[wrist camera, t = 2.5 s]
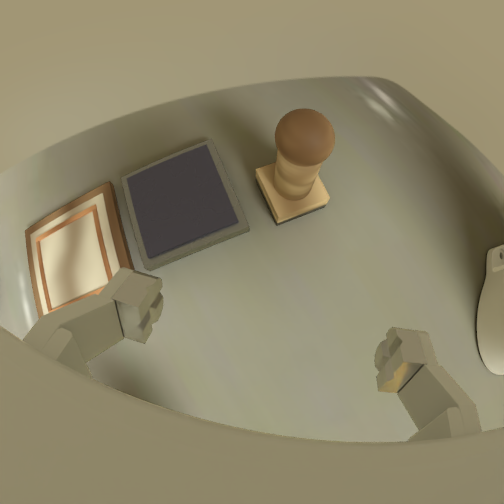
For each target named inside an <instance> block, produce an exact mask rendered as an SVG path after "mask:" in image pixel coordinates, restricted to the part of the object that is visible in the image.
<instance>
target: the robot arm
mask: <svg viewBox="0 0 504 504" xmlns="http://www.w3.org/2000/svg"><path fill="white" fill-rule="evenodd" d="M161 289H162V279H160V278H159V277H155V276H152V275H148V274H145V273H142V272H139V271H134V270H131V269H128V268H125V267H123V268H120V269H119V270H118V271H117V272H116V274H115V275H114V276H113V277H112V278H111V280H110V281H109V282H108V283H107V285H106V286H105V287H104V288H103V289H102V291H101V292H100V293H99V294H98V295H97V294H93V295H91V296H88V297H86V298H83V299H81V300H79V301H76V302H74V303H71V304H69V305H67V306H64V307H62V308H60V309H57V310H55V311H53V312H50V313H48V314H46V315H43V316H41V318H40V319H39V320H38V321H37V323H36V324H35V325H34V326H33V327H32V329H31V330H30V331H29V333H28V334H27V335H26V336H25V338H24V339H23V340H21V339H19V338H18V337H16V336H15V335H13V334H12V333H10V332H9V331H7V330H6V329H4V328H3V327H2V326H0V504H504V427H502V428H498V429H494V430H489V431H484V432H482V431H481V426H480V421H479V417H478V413H477V409H476V405H475V404H474V403H473V401H472V400H471V399H470V398H469V397H468V395H467V394H466V393H465V392H464V391H463V390H462V388H461V387H460V386H459V385H458V384H457V383H456V382H455V380H454V379H453V378H452V377H451V376H450V375H449V374H448V373H447V371H446V370H445V369H444V368H443V367H442V366H439V365H438V362H437V359H436V356H435V352H434V349H433V346H432V343H431V340H430V337H429V334H428V333H427V332H426V331H418V330H409V329H402V328H395V327H392V328H390V329H389V330H388V332H387V333H386V337H387V339H386V340H384V341H382V342H380V344H379V346H378V347H377V349H376V353H375V359H374V362H375V367H376V368H377V370H378V371H379V373H378V375H377V376H376V378H377V386H378V391H379V392H389V393H398V394H397V395H398V397H399V398H400V400H401V401H402V403H403V405H404V406H405V408H406V410H407V411H408V413H409V415H410V416H411V418H412V420H413V421H414V423H415V425H416V426H417V428H418V430H419V431H418V432H417V433H415V434H414V435H413V436H411V437H410V438H409V439H408V440H409V441H407V442H342V441H327V440H315V439H305V438H297V437H289V436H282V435H275V434H269V433H263V432H258V431H252V430H247V429H242V428H237V427H233V426H228V425H224V424H220V423H216V422H212V421H208V420H204V419H201V418H197V417H193V416H190V415H186V414H183V413H180V412H177V411H173V410H170V409H167V408H164V407H161V406H158V405H155V404H153V403H150V402H147V401H144V400H141V399H139V398H136V397H134V396H131V395H129V394H126V393H124V392H121V391H119V390H116V389H114V388H112V387H109V386H107V385H105V384H102V383H100V382H98V381H96V380H94V379H92V374H91V372H90V370H89V368H88V366H87V364H86V362H88V361H89V360H91V359H93V358H94V357H96V356H97V355H99V354H100V353H102V352H103V351H105V350H107V349H108V348H110V347H111V346H113V345H114V344H116V343H117V342H119V341H121V340H122V339H124V337H125V338H128V339H131V340H134V341H137V342H140V343H144V344H145V343H146V341H147V339H148V338H149V336H150V334H151V332H152V324H153V323H155V322H157V321H158V319H159V317H160V315H161V312H162V309H163V296H162V294H161V293H160V290H161ZM477 339H478V346H479V351H480V354H481V357H482V360H483V362H484V364H485V365H486V367H487V368H488V369H489V370H490V371H491V372H492V373H494V374H497V375H504V244H503V245H500V246H497V247H495V248H492V249H490V250H489V251H488V253H487V267H486V279H485V283H484V286H483V289H482V292H481V296H480V301H479V306H478V314H477Z"/></svg>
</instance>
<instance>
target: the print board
mask: <svg viewBox="0 0 504 504" xmlns="http://www.w3.org/2000/svg"><path fill="white" fill-rule="evenodd" d="M25 237H26V247H27V255H28V263H29V270H30V276H31V282H32V288H33V293H34V298H35V303H36V308H37V312H38V316H39V319H40V318H41V316H43V315H46V314H48V313H50V312H53V311H55V310H57V309H60V308H62V307H64V306H67V305H69V304H71V303H74V302H76V301H79V300H81V299H83V298H86V297H88V296H91V295H93V294H97V295H98V294H99V293H100V292H101V291H102V289H103V288H104V287H105V286H106V285H107V283H108V282H109V281H110V280H111V278H112V277H113V276H114V275H115V274H116V272H117V271H118V270H119V269H120V268H123V267H125V268H128V269H131V270H134V266H133V263H132V259H131V256H130V252H129V249H128V245H127V241H126V237H125V234H124V230H123V226H122V222H121V218H120V213H119V209H118V205H117V200H116V195H115V191H114V186H113V184H112V183H111V182H110V181H109V182H107V183H105V184H103V185H101V186H99V187H98V188H96V189H94V190H92V191H90V192H88V193H86V194H85V195H83V196H81V197H79V198H77V199H76V200H74V201H72V202H70V203H69V204H67V205H65V206H64V207H62V208H60V209H58V210H57V211H55V212H53V213H52V214H50V215H49V216H47V217H45V218H44V219H42V220H41V221H39V222H37V223H36V224H34V225H33V226H31V227H30V228H28V229H27V230H25ZM134 271H135V270H134Z"/></svg>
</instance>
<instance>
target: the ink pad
mask: <svg viewBox="0 0 504 504" xmlns="http://www.w3.org/2000/svg"><path fill="white" fill-rule="evenodd" d="M121 181H122V185H123V190H124V194H125V198H126V202H127V206H128V211H129V215H130V218H131V222H132V226H133V230H134V233H135V237H136V241H137V244H138V248H139V251H140V255H141V258H142V261H143V265H144V268H145V269H146V270H149V271H152V270H154V269H157V268H159V267H161V266H164V265H166V264H169V263H171V262H174V261H176V260H178V259H181V258H183V257H186V256H188V255H191V254H193V253H195V252H198V251H200V250H203V249H205V248H208V247H210V246H213V245H215V244H218V243H220V242H223V241H225V240H228V239H230V238H233V237H235V236H238V235H240V234H243V233H245V232H248V231H249V225H248V223H247V220H246V218H245V216H244V213H243V211H242V209H241V206H240V204H239V202H238V199H237V197H236V194H235V192H234V190H233V187H232V185H231V183H230V180H229V178H228V176H227V173H226V171H225V169H224V167H223V164H222V162H221V160H220V157H219V155H218V153H217V150H216V148H215V146H214V143H213V141H212V139H209V140H207V141H204V142H201V143H199V144H196V145H194V146H191V147H189V148H186V149H184V150H181V151H179V152H176V153H174V154H171V155H169V156H167V157H164V158H162V159H160V160H157V161H155V162H153V163H151V164H148V165H146V166H144V167H142V168H140V169H138V170H135V171H133V172H131V173H129V174H127V175H125V176H123V177H121Z"/></svg>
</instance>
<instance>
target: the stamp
mask: <svg viewBox="0 0 504 504" xmlns="http://www.w3.org/2000/svg"><path fill="white" fill-rule="evenodd" d="M275 142H276V146H277V148H278V151H277V159H276V162H275V163H272V164H269V165H266V166H263V167H260V168H257V169H256V182H257V184H258V186H259V188H260V190H261V192H262V195H263V197H264V199H265V201H266V203H267V206H268V208H269V210H270V212H271V214H272V217H273V219H274V221H275V223H276V225H277V226H278V225H280V224H283V223H285V222H288V221H290V220H293V219H296V218H298V217H301V216H303V215H306V214H308V213H311V212H314V211H316V210H319V209H321V208H324V207H325V205H326V204H327V202H328V200H329V199H330V197H329V195H328V193H327V191H326V189H325V187H324V185H323V183H322V182H321V180H320V178H319V176H318V172H319V170H320V167H321V165H322V163H323V161H324V160H326V159H327V158H328V157H329V155H330V154H331V152H332V150H333V148H334V144H335V134H334V130H333V127H332V125H331V123H330V122H329V121H328V119H327V118H326V117H325V116H324V115H322V114H321V113H319V112H317V111H315V110H311V109H296V110H293V111H291V112H289V113H287V114H286V115H285V116H284V117H283V118H282V119H281V120H280V121H279V123H278V125H277V127H276V131H275Z"/></svg>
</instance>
